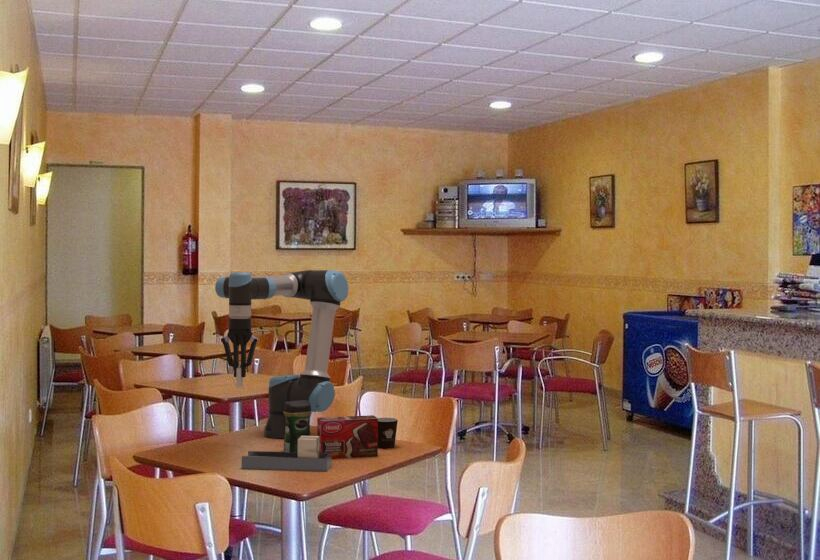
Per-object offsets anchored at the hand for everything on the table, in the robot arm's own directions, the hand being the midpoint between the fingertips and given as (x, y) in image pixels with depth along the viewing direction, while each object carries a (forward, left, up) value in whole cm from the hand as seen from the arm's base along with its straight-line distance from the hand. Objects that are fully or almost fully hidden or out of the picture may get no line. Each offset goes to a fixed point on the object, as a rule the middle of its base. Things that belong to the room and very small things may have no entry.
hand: (239, 386), depth 311 cm
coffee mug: (-25, +46, -25) cm, 58 cm away
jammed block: (+11, +26, -23) cm, 36 cm away
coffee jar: (-10, +18, -25) cm, 32 cm away
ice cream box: (-8, +36, -25) cm, 44 cm away
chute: (+11, +19, -24) cm, 33 cm away
